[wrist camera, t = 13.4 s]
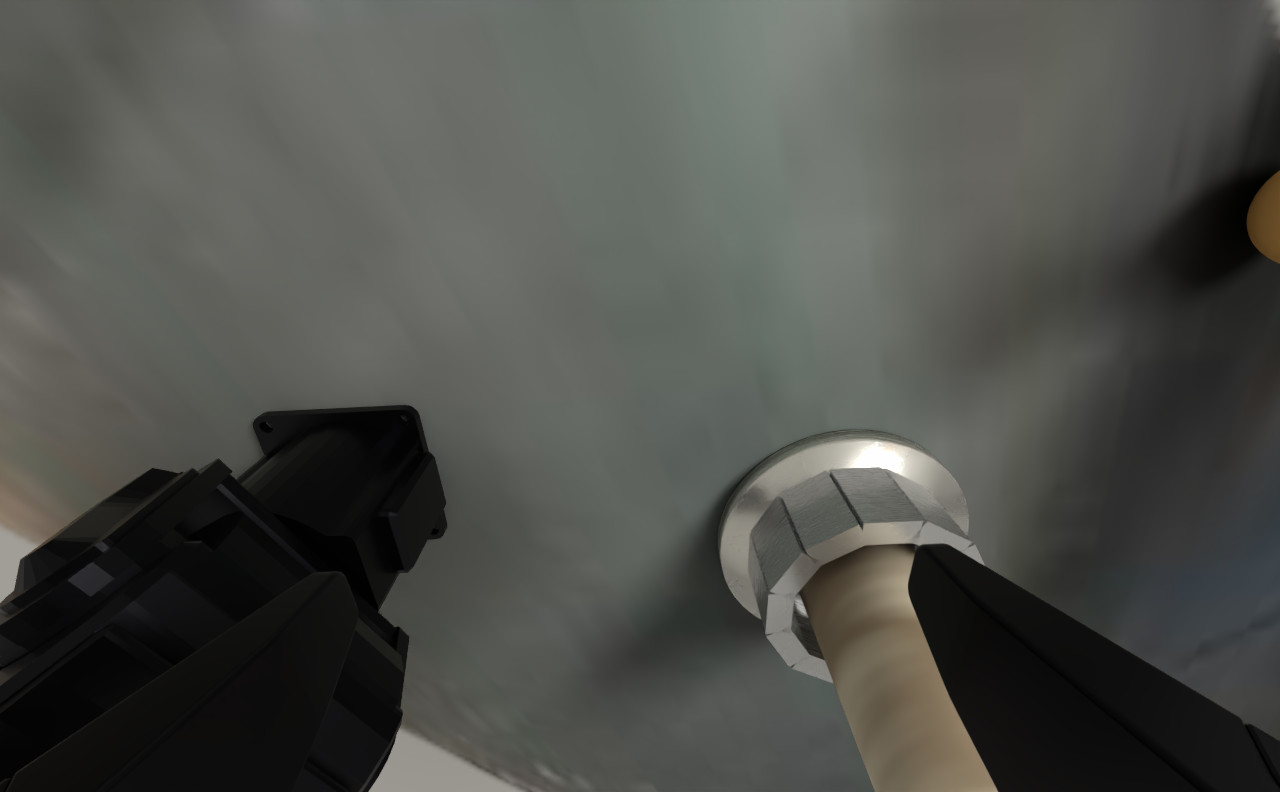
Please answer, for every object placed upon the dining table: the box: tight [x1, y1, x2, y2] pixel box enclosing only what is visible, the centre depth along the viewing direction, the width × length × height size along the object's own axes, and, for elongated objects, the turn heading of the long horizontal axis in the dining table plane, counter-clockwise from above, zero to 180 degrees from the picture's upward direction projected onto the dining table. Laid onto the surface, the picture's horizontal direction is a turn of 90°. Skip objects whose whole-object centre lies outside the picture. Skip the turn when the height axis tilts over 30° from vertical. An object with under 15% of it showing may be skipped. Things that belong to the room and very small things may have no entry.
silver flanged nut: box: [717, 430, 985, 683], centre depth 22 cm, size 11×11×4 cm
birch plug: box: [799, 543, 998, 792], centre depth 18 cm, size 5×5×13 cm
